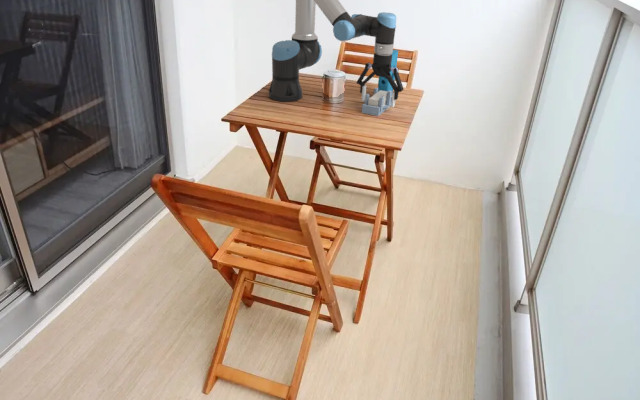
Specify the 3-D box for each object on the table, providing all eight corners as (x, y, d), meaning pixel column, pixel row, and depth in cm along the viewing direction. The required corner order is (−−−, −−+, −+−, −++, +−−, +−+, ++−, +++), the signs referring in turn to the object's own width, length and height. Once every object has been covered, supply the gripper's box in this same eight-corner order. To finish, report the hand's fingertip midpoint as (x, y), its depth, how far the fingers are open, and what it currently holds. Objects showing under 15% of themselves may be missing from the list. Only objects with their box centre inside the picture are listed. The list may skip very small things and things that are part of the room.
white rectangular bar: (376, 111, 202) (377, 100, 199) (367, 110, 203) (368, 98, 201) (387, 102, 212) (388, 91, 210) (379, 101, 214) (380, 90, 211)
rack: (378, 116, 200) (380, 99, 197) (361, 112, 203) (363, 96, 200) (392, 104, 214) (394, 89, 210) (376, 101, 216) (377, 86, 213)
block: (386, 101, 218) (391, 56, 207) (376, 99, 219) (380, 54, 209) (393, 93, 227) (398, 50, 217) (383, 92, 229) (388, 49, 219)
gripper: (351, 50, 198) (347, 100, 209) (409, 60, 189) (402, 111, 200) (358, 47, 204) (354, 95, 215) (415, 56, 195) (408, 106, 206)
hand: (377, 103), depth 207 cm, fingers open, 13 cm apart
